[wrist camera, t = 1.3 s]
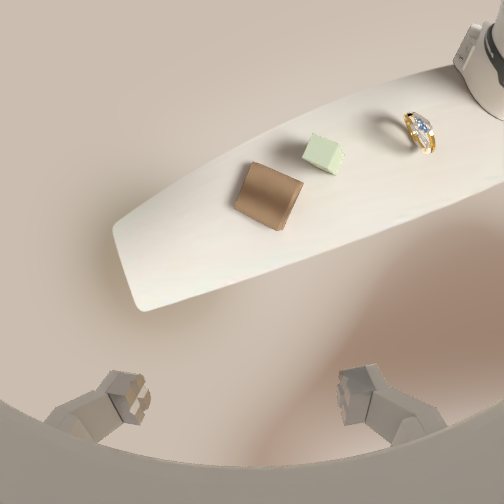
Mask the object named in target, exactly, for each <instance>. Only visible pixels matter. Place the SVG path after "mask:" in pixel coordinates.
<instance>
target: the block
mask: <svg viewBox="0 0 504 504" xmlns="http://www.w3.org/2000/svg"><path fill="white" fill-rule="evenodd" d="M344 155H345V154H344V152H343V151H342V149H341V147H340V146H339V144H338V143H336V142H333V141H331V140H329V139H326V138H324V137H321V136H319V135H316V134H313V133H312V136H311V138H310V140H309V143H308V145H307V147H306V150H305V152H304V154H303V157H302V158H303V159H305V160H306V161H308V162H309V163H311V164H312V165H314V166H315V167H318V168H320V169H322V170H324V171H327V172H329V173H331V174H333V175H335V176H336V173H337V171H338V169H339V167H340V164H341V162H342V160H343V157H344Z"/></svg>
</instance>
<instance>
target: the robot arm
mask: <svg viewBox="0 0 504 504" xmlns="http://www.w3.org/2000/svg"><path fill="white" fill-rule="evenodd" d="M460 58H461V59H462V60H461V59H460ZM453 63H454V65H455V66H456V68H457V69H458V70H459V71H460V73H461V74H462V75H463V77H464V79H465V82H466V84H467V86H468V88H469V90H470V92H471V93H472V95H473V96H474V98H475V99H476V101H477V102H478V103H479V104H480V105H481V106H482V107H483V108H484V109H485V110H486V111H487V112H489V113H490V114H491V115H493V116H494V117H496V118H498V119H501V120H504V0H501V5H500V10H499V13H498V16H497V19H496V22H495V23H494V24H493V23H490V22H484V23H483V25H482V26H481V25H477V24H472V25H471V26H470V28H469V30H468V32H467V34H466V36H465V38H464V40H463V42H462V44H461V46H460V48H459V50H458V51H457V53H456V55H455V57H454V59H453ZM338 378H339V381H340V383H339V384H338V385H337V400H338V405H339V407H340V408H342V412H341V416H342V419H343V423H344V425H345V426H346V425H352V424H358V423H364V422H365V424H366V425H368V426H369V427H370V428H371V429H373V430H374V431H375V432H376V433H378V434H379V435H380V436H382V437H383V438H384V439H385V440H387V441H388V442H389V443H391V446H390V447H389V448H386V449H382V450H378V451H374V452H371V453H367V454H362V455H357V456H353V457H347V458H342V459H337V460H330V461H324V462H316V463H308V464H298V465H287V466H267V467H231V466H213V465H201V464H192V463H184V462H176V461H170V460H163V459H158V458H152V457H147V456H143V455H138V454H134V453H129V452H126V451H122V450H118V449H114V448H111V447H107V446H104V445H101V444H97V443H98V442H99V441H100V440H102V439H103V438H104V437H106V436H107V435H109V434H110V433H111V432H113V431H114V430H115V429H117V428H118V427H119V426H121V425H122V424H123V423H128V424H134V425H140V423H141V422H142V420H143V418H144V415H145V414H144V412H143V411H145V410H146V409H148V407H149V405H150V400H151V396H150V392H149V389H148V388H147V387H146V386H145V385H144V383H145V379H144V377H143V375H141V374H136V373H129V372H121V371H114V370H112V371H110V372H109V374H108V375H107V376H106V378H105V379H104V380H103V382H102V383H101V384H100V386H99V387H98V388H97V390H96V391H94V390H93V391H91V392H88V393H86V394H84V395H82V396H80V397H78V398H76V399H74V400H71V401H69V402H67V403H65V404H63V405H60V406H58V407H56V408H55V409H54V410H53V411H52V412H51V414H50V415H49V416H48V417H47V419H46V420H45V421H44V422H41V421H39V420H37V419H35V418H32V417H31V416H28V415H27V414H25V413H23V412H21V411H19V410H17V409H15V408H14V407H12V406H10V405H8V404H7V403H5V402H4V401H2V400H0V504H504V398H502V399H500V400H499V401H497V402H495V403H494V404H492V405H490V406H488V407H487V408H485V409H483V410H481V411H479V412H478V413H475V414H474V415H472V416H470V417H468V418H466V419H464V420H461V421H459V422H457V423H455V424H453V425H451V426H447V425H446V423H445V421H444V420H443V418H442V416H441V415H440V413H439V412H438V410H437V409H436V407H434V406H431V405H429V404H427V403H425V402H422V401H421V400H419V399H416V398H414V397H412V396H410V395H408V394H406V393H404V392H402V391H400V390H398V389H396V388H394V387H389V386H388V384H387V382H386V380H385V379H384V377H383V375H382V373H381V371H380V370H379V368H378V366H377V364H369V365H364V366H360V367H355V368H349V369H342V370H340V371H339V376H338Z"/></svg>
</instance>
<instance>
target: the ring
mask: <svg viewBox="0 0 504 504" xmlns="http://www.w3.org/2000/svg"><path fill="white" fill-rule="evenodd" d="M410 116H411V117H414V119H415V123H413V122H412V121H411V119H410ZM403 118H404V121H405V123H406V126H407V128H408V130H409V132H410V134H411V136H412V139H413V141H414V142H415V143H416V145H417V146H418V148H419V149H420V150H421V151H422V152H423V153H424V154H425V155H428V154H430V153H433V152H434V150H435V139H434V135H433V133H432V125H431V123H430V122H429V121H428V120H427V119H425V118H424V117H422V116H421V115H419V114H417V113H415V112H409V113H407V114H404V115H403ZM426 126H427V127H428V129H427V127H426ZM415 127H416V128H418V130H417V129H416V128H415ZM420 131H423V132H424V135H425V136H426V135H428V137H429V141H430V145H429V143H428V141H427V140H426V139H425V137H424V136H423V135H422V134H421V133H420ZM416 134H417V135H418V136H419V137H420V138H421V139H422V141H423V142H424V143H425V145H426V148H425V147H424V146H423V145H422V143H421V142H420V140H419V138H418V136H417V135H416Z"/></svg>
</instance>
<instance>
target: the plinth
mask: <svg viewBox="0 0 504 504" xmlns="http://www.w3.org/2000/svg"><path fill="white" fill-rule="evenodd" d="M302 186H303V183H302V182H300V181H298V180H296V179H293V178H291V177H289V176H287V175H285V174H282V173H280V172H278V171H275V170H273V169H271V168H268V167H266V166H264V165H261V164H259V163H256V162H252V164H251V167H250V169H249V172H248V174H247V176H246V179H245V181H244V184H243V186H242V189H241V191H240V194H239V196H238V199H237V201H236V204H235V206H234V209H236V210H238V211H240V212H242V213H244V214H246V215H248V216H249V217H251V218H253V219H255V220H257V221H259V222H261V223H263V224H265V225H266V226H268V227H270V228H272V229H274V230H276V231H279V230H283V228H284V226H285V224H286V221H287V219H288V217H289V215H290V213H291V210H292V208H293V206H294V204H295V201H296V199H297V197H298V195H299V192H300V190H301V188H302Z"/></svg>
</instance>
